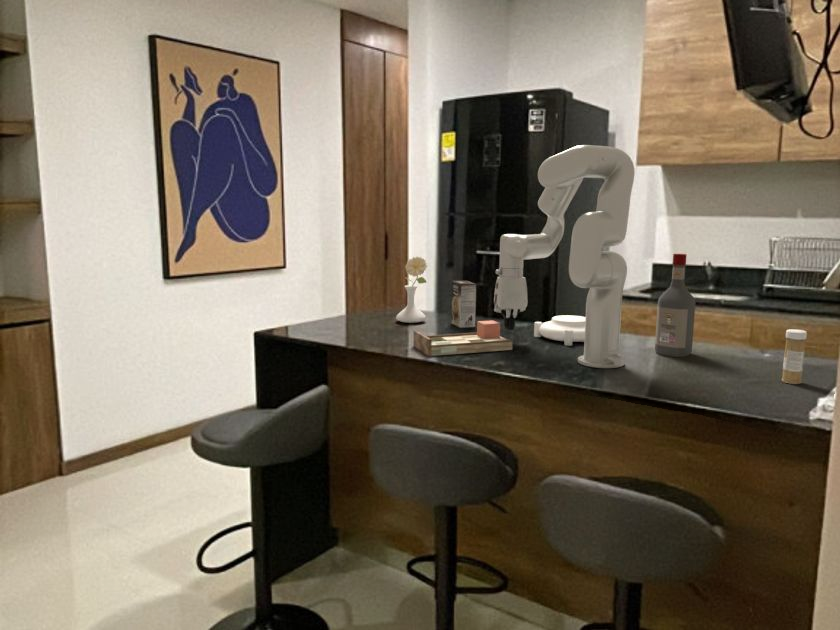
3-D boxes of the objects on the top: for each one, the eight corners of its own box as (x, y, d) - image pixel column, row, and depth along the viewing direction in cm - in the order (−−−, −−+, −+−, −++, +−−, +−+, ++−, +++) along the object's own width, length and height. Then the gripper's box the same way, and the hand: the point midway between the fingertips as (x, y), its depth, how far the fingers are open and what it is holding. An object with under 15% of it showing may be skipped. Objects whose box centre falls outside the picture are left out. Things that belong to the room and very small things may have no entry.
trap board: (512, 349, 204) (512, 333, 203) (428, 356, 195) (428, 339, 194) (493, 340, 217) (493, 325, 216) (413, 346, 208) (413, 330, 207)
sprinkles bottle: (784, 378, 171) (789, 328, 169) (803, 382, 168) (809, 330, 166) (778, 382, 168) (784, 330, 166) (798, 385, 165) (804, 332, 163)
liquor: (681, 358, 193) (689, 255, 188) (651, 353, 199) (658, 254, 194) (694, 353, 200) (701, 254, 195) (664, 348, 206) (671, 252, 201)
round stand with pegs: (529, 344, 213) (530, 322, 212) (537, 330, 236) (538, 311, 235) (607, 349, 207) (608, 326, 206) (607, 334, 230) (608, 314, 229)
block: (499, 337, 210) (500, 323, 209) (483, 338, 208) (484, 324, 208) (492, 333, 215) (492, 320, 215) (477, 334, 214) (477, 321, 213)
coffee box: (450, 323, 247) (451, 280, 244) (466, 322, 249) (467, 280, 246) (459, 328, 239) (459, 283, 236) (475, 327, 241) (476, 283, 238)
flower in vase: (389, 322, 249) (389, 256, 244) (408, 318, 258) (408, 254, 253) (417, 326, 241) (417, 258, 237) (435, 322, 250) (436, 256, 245)
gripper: (494, 275, 205) (493, 332, 208) (537, 273, 210) (535, 330, 213) (484, 272, 212) (483, 328, 215) (526, 271, 217) (524, 326, 220)
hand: (509, 329), depth 214 cm, fingers closed
